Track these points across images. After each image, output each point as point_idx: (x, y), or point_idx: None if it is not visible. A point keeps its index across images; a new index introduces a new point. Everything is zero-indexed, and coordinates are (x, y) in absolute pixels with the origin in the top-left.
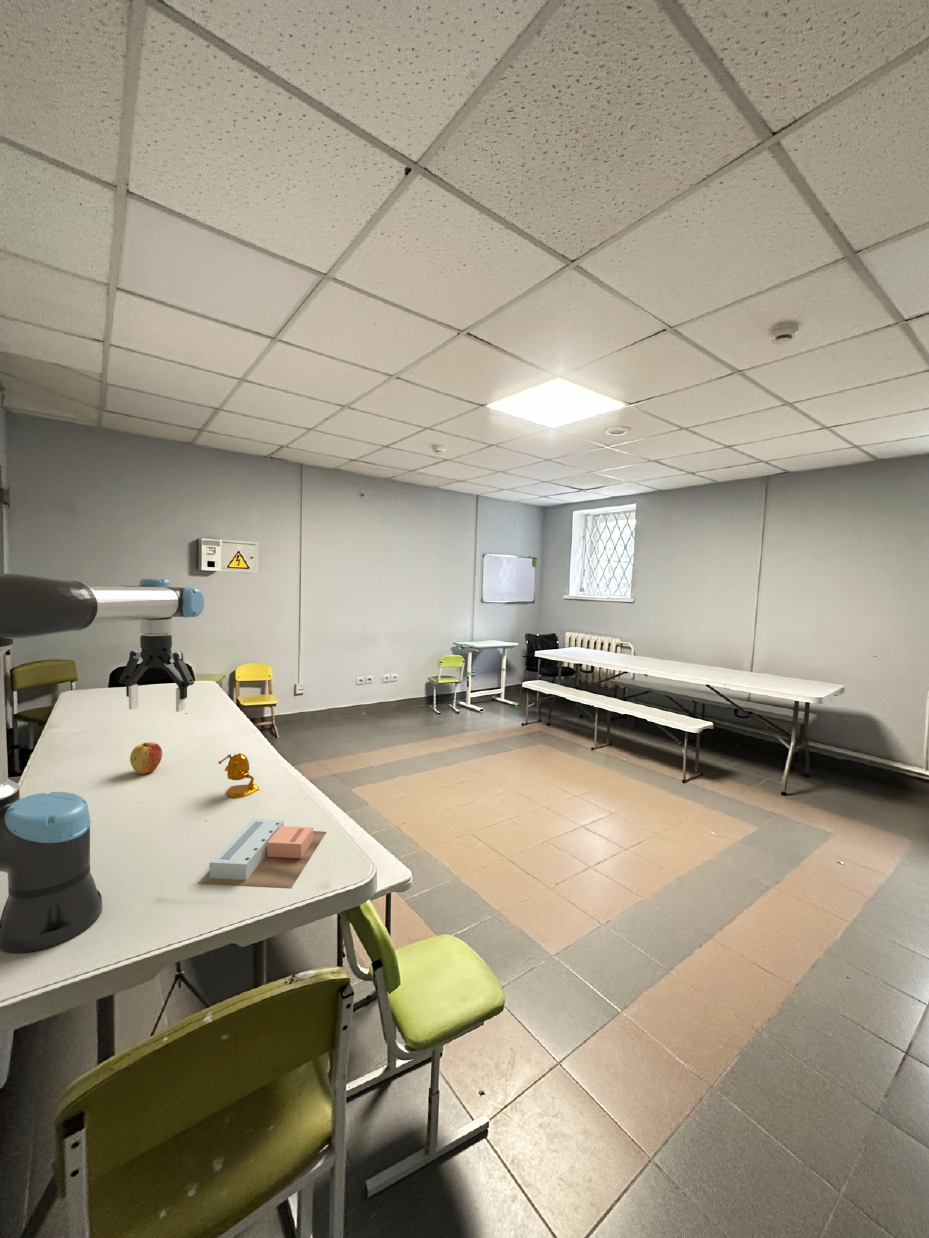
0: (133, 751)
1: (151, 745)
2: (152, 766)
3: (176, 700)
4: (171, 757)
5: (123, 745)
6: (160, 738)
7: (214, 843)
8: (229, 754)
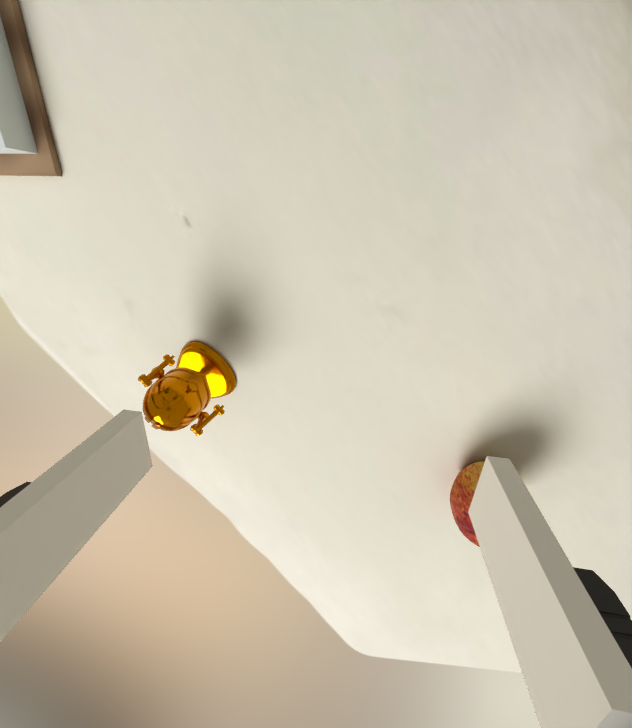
0: None
1: None
2: (458, 475)
3: (72, 466)
4: (459, 546)
5: None
6: None
7: (94, 100)
8: (196, 433)
